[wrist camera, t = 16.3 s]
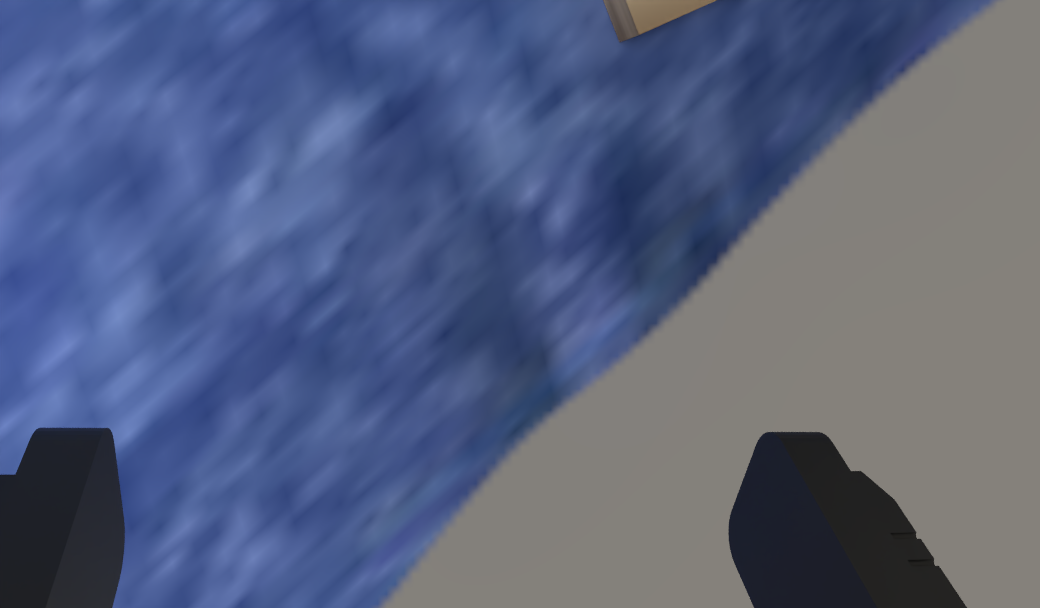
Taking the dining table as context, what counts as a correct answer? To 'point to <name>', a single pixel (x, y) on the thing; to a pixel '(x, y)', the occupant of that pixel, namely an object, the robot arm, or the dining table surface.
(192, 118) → the dining table surface
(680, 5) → the collar
